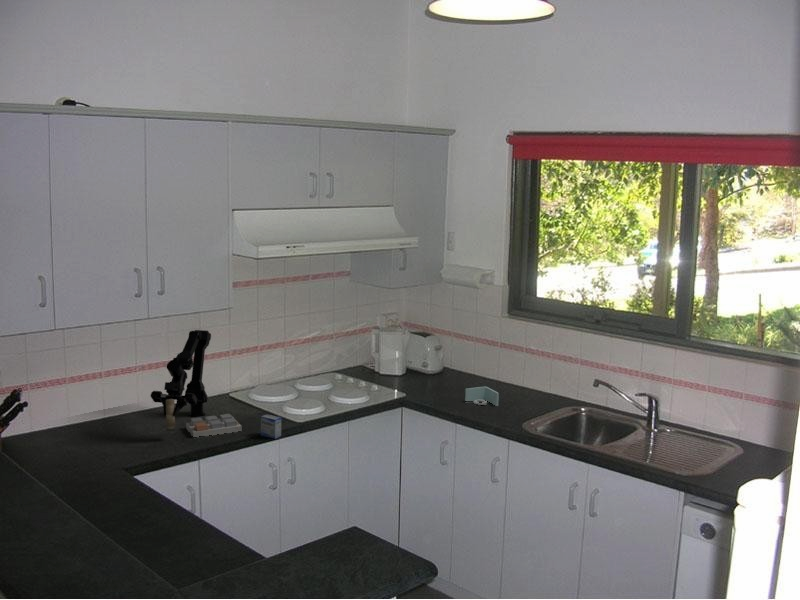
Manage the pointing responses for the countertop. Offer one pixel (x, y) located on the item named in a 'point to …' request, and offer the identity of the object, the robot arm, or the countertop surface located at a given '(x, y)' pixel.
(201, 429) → the terracotta key
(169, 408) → the tan banded cylinder
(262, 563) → the countertop surface
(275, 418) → the medicine box
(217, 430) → the keypad
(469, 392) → the l-shaped corner panel
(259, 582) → the countertop surface
